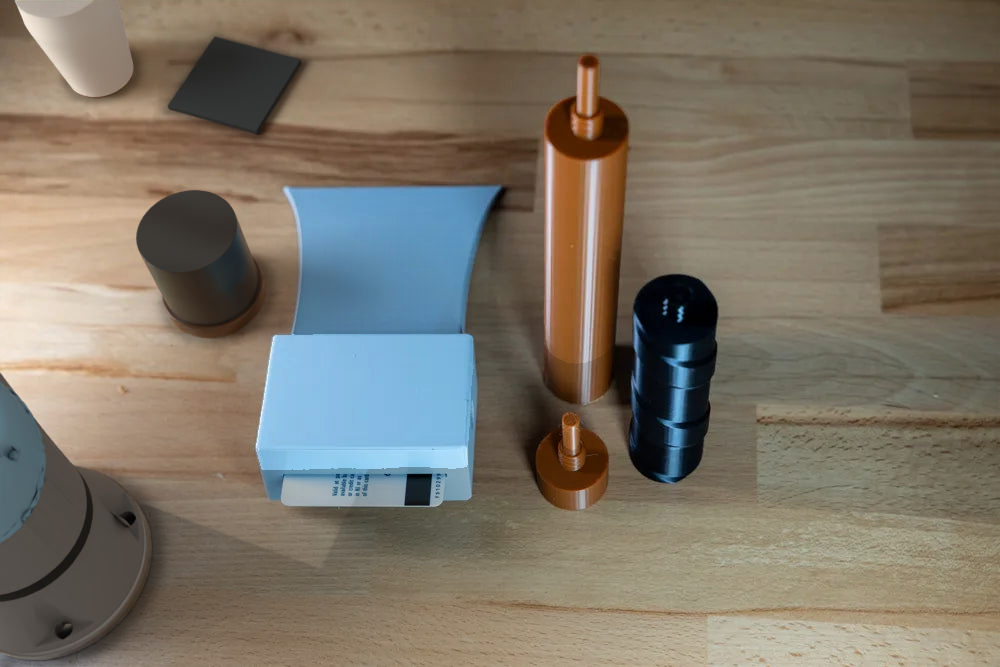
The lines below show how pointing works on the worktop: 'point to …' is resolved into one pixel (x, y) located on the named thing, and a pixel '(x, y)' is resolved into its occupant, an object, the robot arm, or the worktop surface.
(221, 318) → the dark grey cylinder
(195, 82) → the mat
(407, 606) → the worktop surface
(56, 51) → the cup
